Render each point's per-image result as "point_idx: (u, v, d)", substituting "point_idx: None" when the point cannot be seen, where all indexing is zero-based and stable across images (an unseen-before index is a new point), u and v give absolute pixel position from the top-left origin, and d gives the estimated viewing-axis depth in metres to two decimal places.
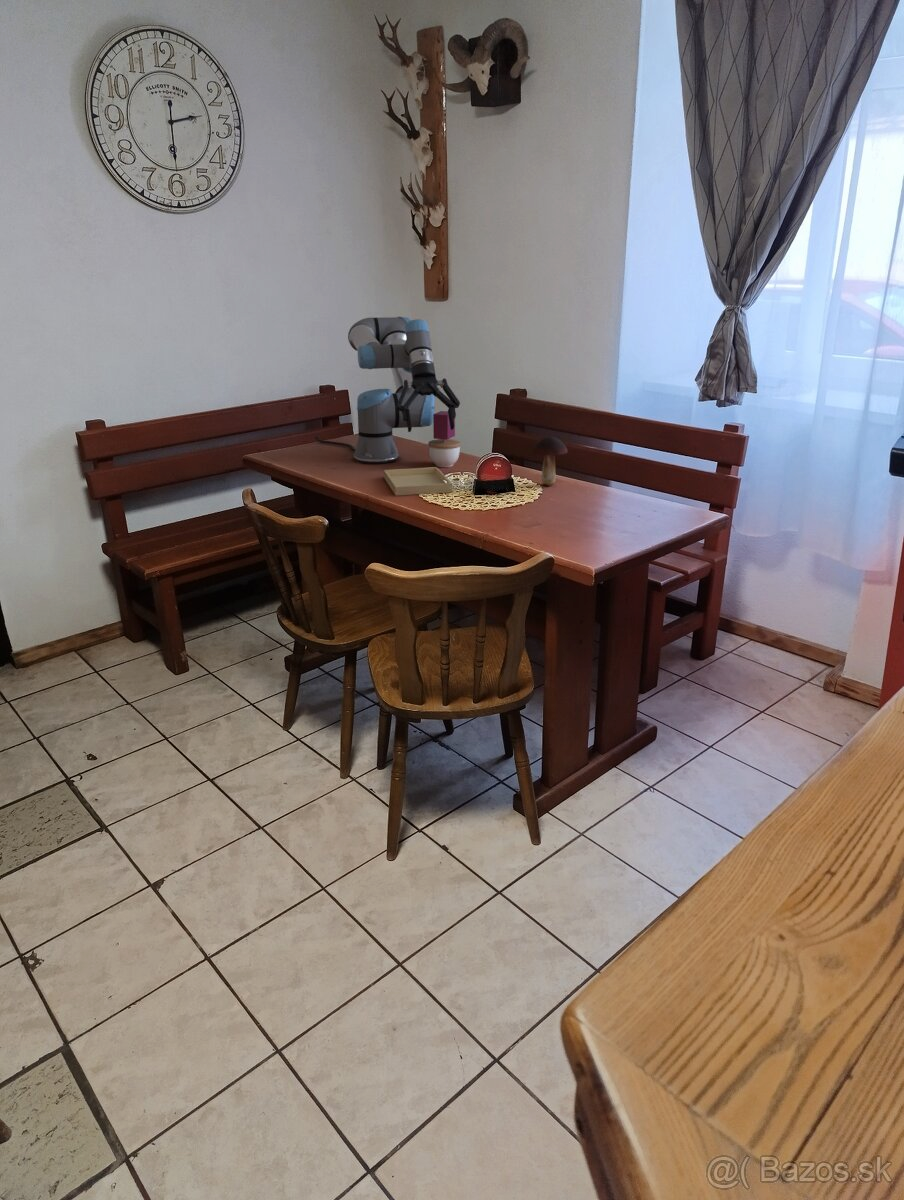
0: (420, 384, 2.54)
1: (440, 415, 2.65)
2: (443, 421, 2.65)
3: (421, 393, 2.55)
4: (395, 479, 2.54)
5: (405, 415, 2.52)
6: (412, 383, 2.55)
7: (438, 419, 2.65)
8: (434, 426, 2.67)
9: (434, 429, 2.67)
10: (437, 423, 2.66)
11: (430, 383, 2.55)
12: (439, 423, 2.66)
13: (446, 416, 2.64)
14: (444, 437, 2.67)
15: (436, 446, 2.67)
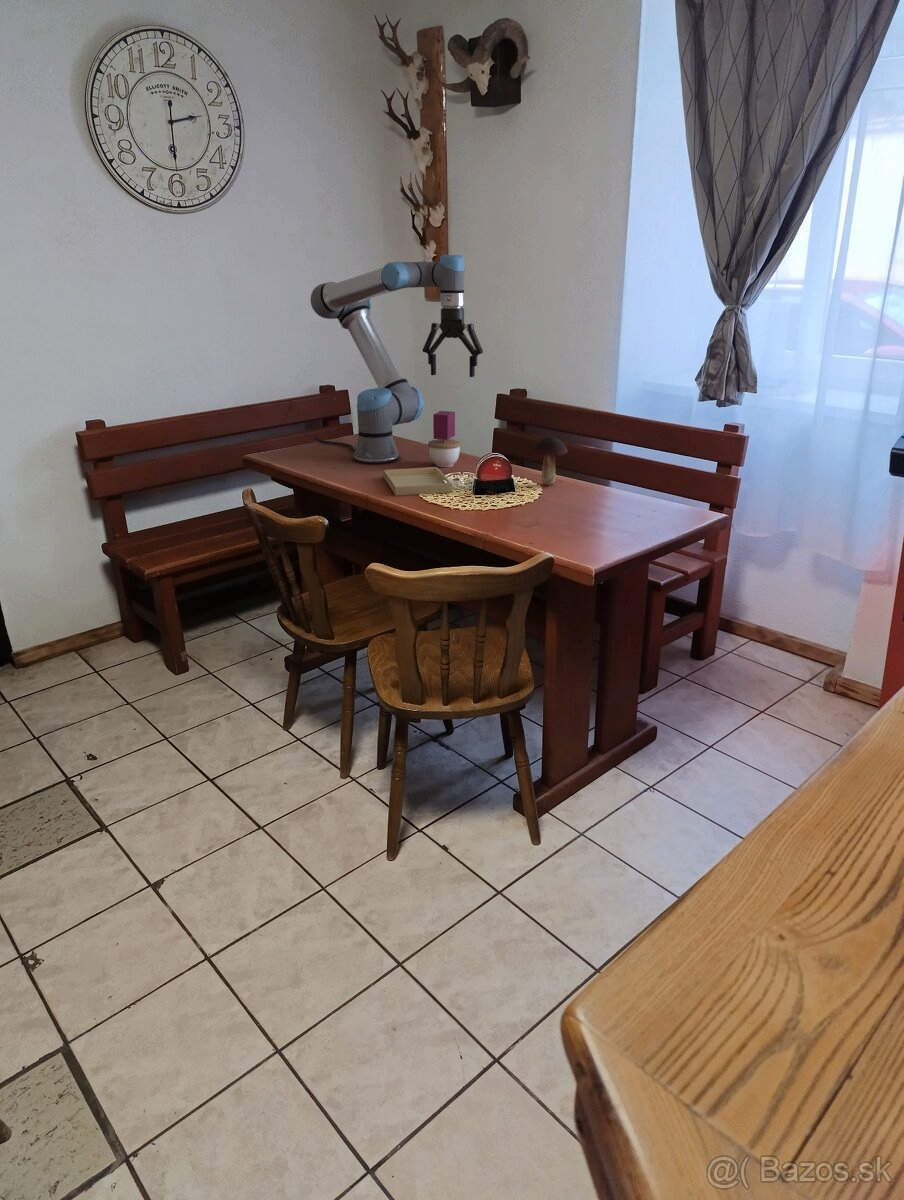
0: (445, 330, 2.61)
1: (440, 415, 2.65)
2: (443, 421, 2.65)
3: None
4: (395, 479, 2.54)
5: (429, 360, 2.67)
6: (439, 326, 2.62)
7: (438, 419, 2.65)
8: (434, 426, 2.67)
9: (434, 429, 2.67)
10: (437, 424, 2.66)
11: (454, 330, 2.59)
12: (439, 424, 2.66)
13: (446, 416, 2.64)
14: (444, 437, 2.67)
15: (436, 446, 2.67)
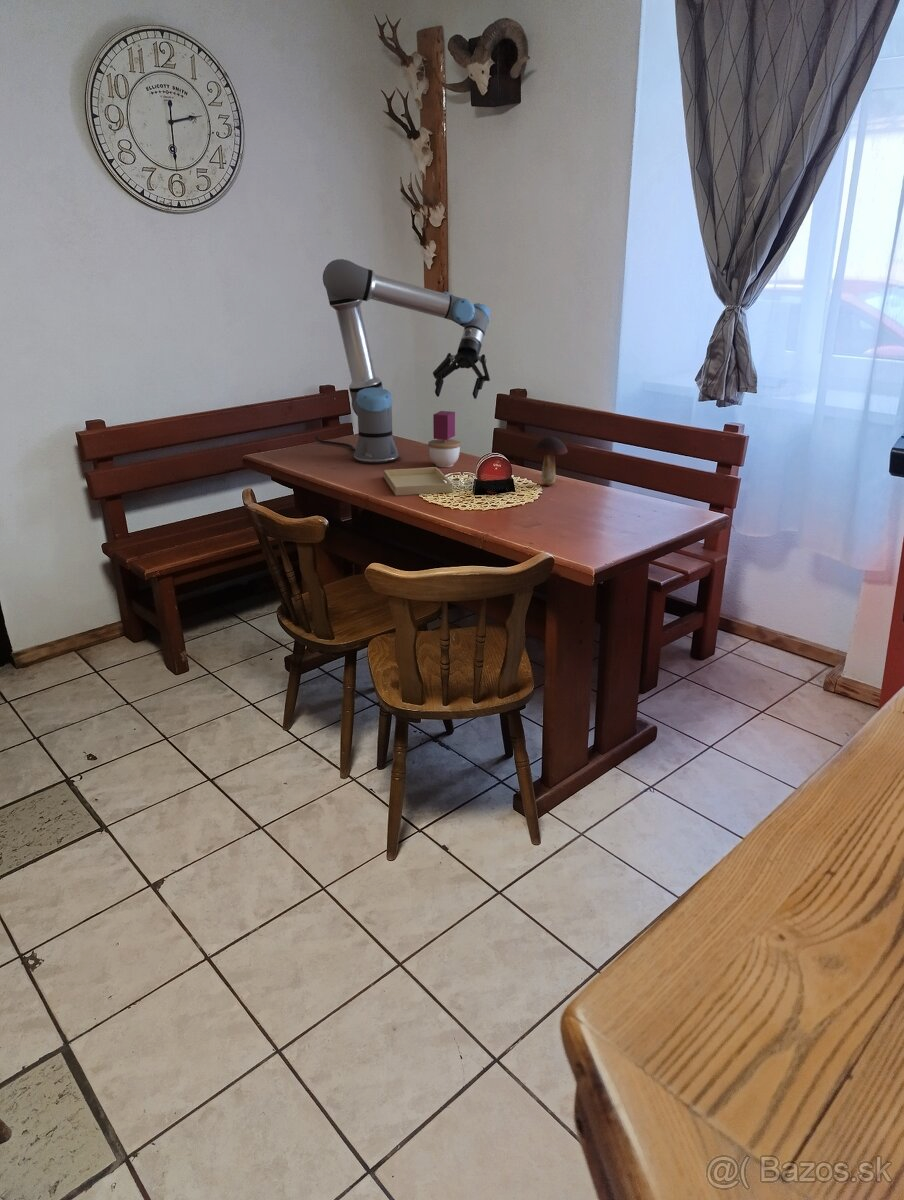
0: (459, 357, 2.78)
1: (440, 415, 2.65)
2: (443, 421, 2.65)
3: (459, 365, 2.79)
4: (395, 479, 2.54)
5: (437, 381, 2.78)
6: (454, 356, 2.80)
7: (438, 419, 2.65)
8: (434, 426, 2.67)
9: (434, 429, 2.67)
10: (437, 424, 2.66)
11: (468, 357, 2.77)
12: (439, 424, 2.66)
13: (446, 416, 2.64)
14: (444, 437, 2.67)
15: (436, 446, 2.67)
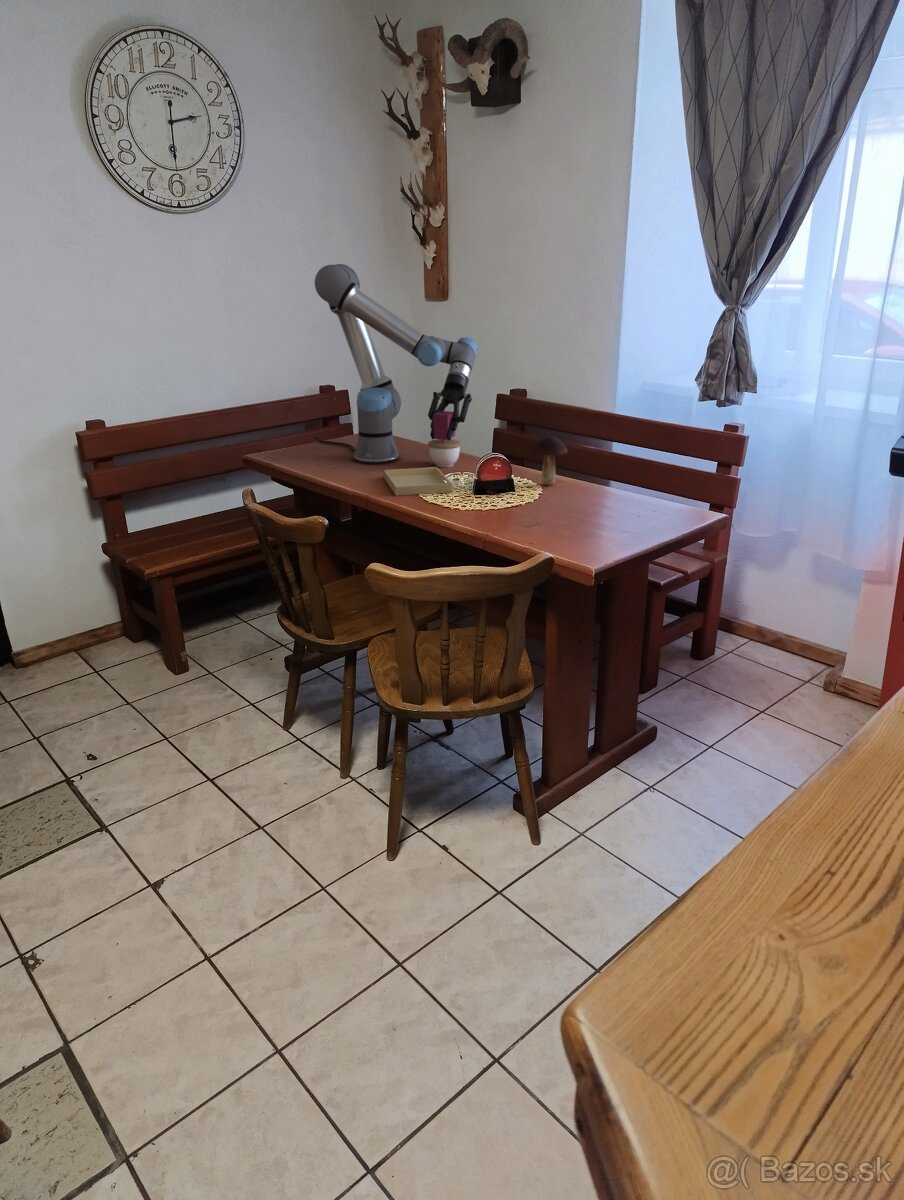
0: (446, 393, 2.71)
1: (440, 415, 2.65)
2: (443, 421, 2.65)
3: (446, 401, 2.72)
4: (395, 479, 2.54)
5: (432, 423, 2.69)
6: (441, 393, 2.73)
7: (438, 419, 2.65)
8: (434, 426, 2.67)
9: (434, 429, 2.67)
10: (437, 424, 2.66)
11: (454, 392, 2.70)
12: (439, 424, 2.66)
13: (446, 416, 2.64)
14: (444, 437, 2.67)
15: (436, 446, 2.67)
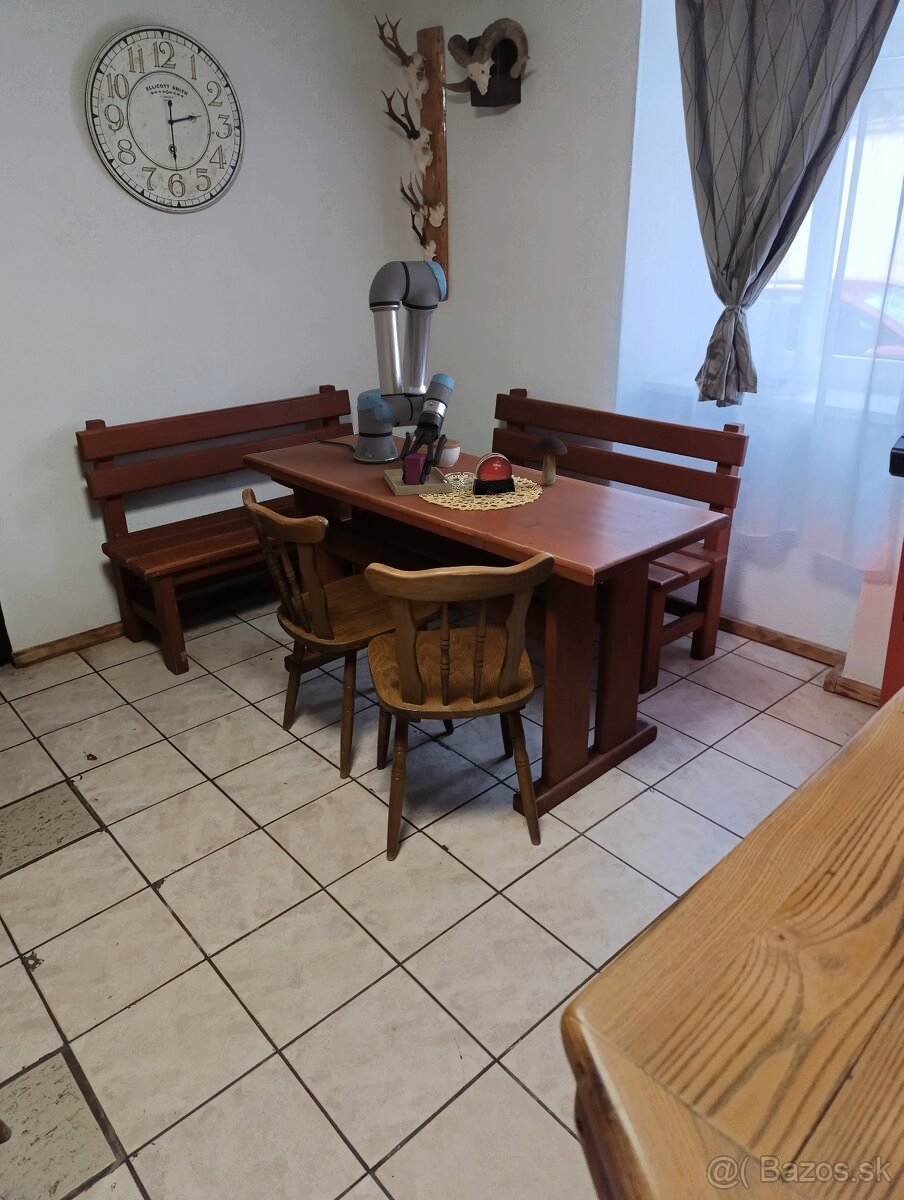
0: (419, 433, 2.51)
1: (412, 458, 2.44)
2: (416, 465, 2.44)
3: (419, 442, 2.52)
4: (395, 479, 2.54)
5: (404, 466, 2.49)
6: (414, 433, 2.53)
7: (410, 463, 2.45)
8: (406, 470, 2.46)
9: (406, 473, 2.47)
10: (409, 467, 2.45)
11: (428, 433, 2.50)
12: (411, 467, 2.45)
13: (418, 460, 2.43)
14: (417, 482, 2.46)
15: (436, 446, 2.67)
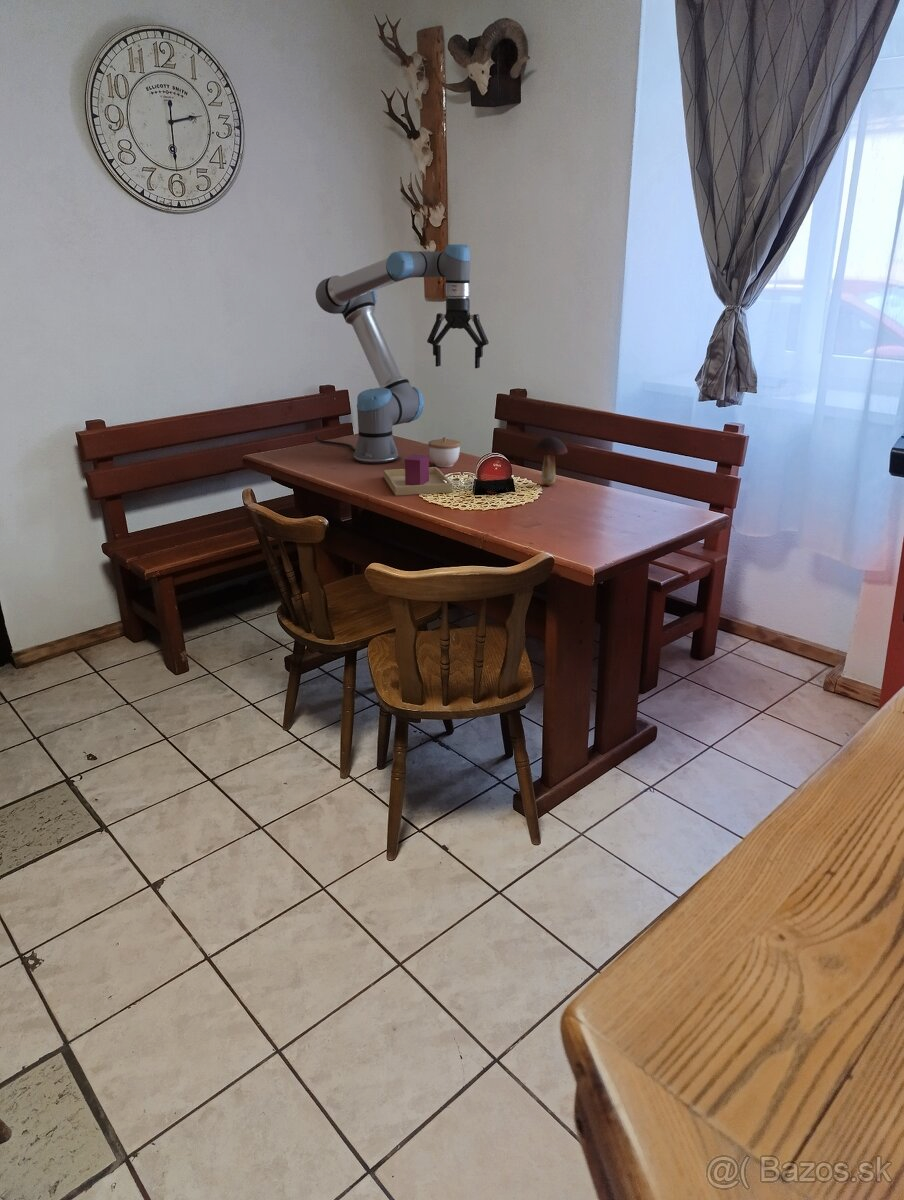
0: (450, 321, 2.58)
1: (412, 460, 2.44)
2: (416, 466, 2.45)
3: None
4: (395, 479, 2.54)
5: (434, 351, 2.65)
6: (444, 317, 2.59)
7: (410, 464, 2.45)
8: (406, 472, 2.47)
9: (406, 475, 2.47)
10: (409, 469, 2.46)
11: (459, 320, 2.57)
12: (411, 469, 2.46)
13: (418, 461, 2.44)
14: (416, 484, 2.47)
15: (436, 446, 2.67)
